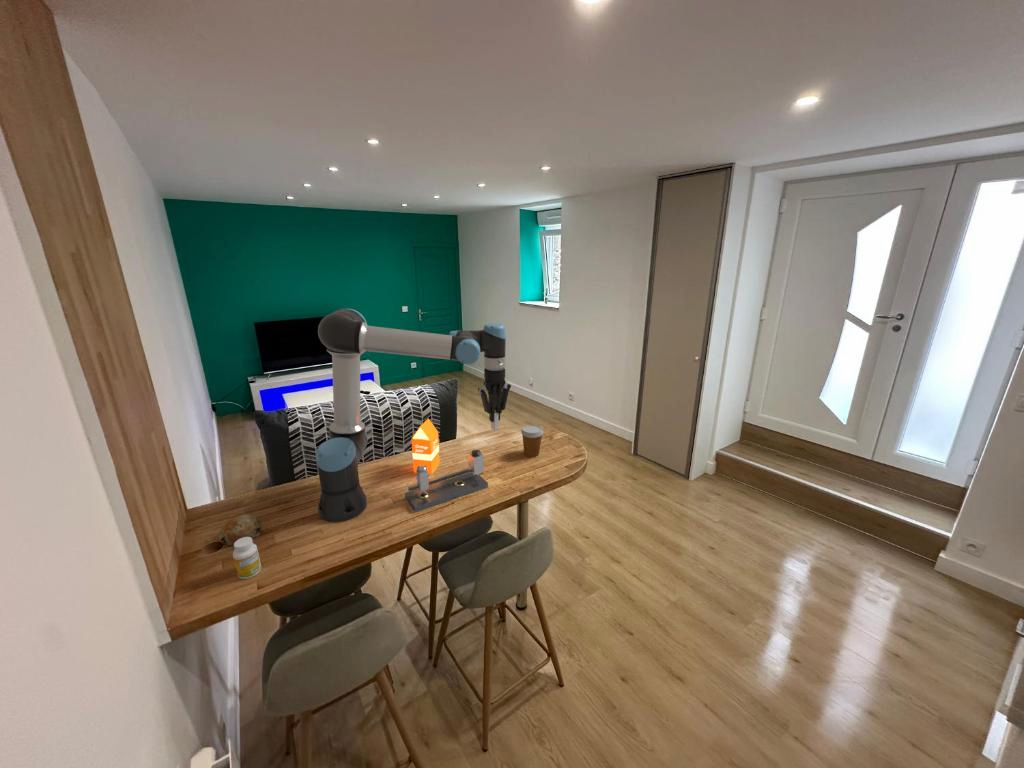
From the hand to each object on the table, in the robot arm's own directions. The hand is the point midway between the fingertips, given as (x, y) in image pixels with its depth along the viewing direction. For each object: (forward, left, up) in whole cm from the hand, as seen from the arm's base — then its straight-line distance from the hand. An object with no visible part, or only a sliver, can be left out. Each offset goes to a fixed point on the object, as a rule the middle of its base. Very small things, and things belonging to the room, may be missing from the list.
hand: (494, 428), depth 148 cm
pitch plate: (-15, -13, -20) cm, 29 cm away
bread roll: (-70, -44, -21) cm, 86 cm away
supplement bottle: (-57, -57, -21) cm, 83 cm away
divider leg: (-6, -5, -17) cm, 19 cm away
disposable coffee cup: (+13, +21, -21) cm, 32 cm away
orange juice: (-28, +3, -21) cm, 35 cm away
